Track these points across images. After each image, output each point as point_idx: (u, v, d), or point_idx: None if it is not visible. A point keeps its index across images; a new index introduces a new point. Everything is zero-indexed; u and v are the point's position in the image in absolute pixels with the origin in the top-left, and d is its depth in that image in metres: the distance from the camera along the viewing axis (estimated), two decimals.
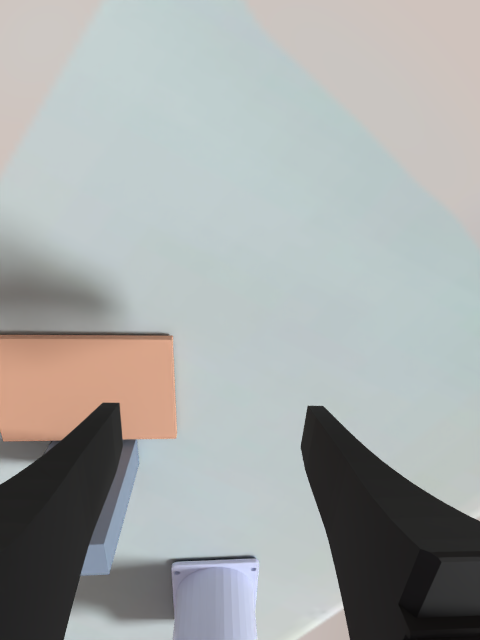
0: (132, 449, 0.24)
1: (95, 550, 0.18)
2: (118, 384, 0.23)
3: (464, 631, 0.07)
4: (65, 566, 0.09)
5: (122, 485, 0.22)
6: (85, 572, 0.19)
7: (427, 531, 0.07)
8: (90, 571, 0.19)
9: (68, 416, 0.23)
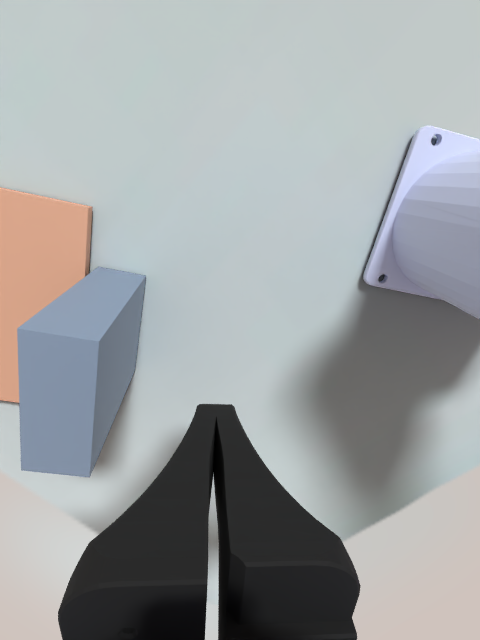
0: (92, 273, 0.17)
1: (33, 344, 0.11)
2: None
3: (291, 638, 0.06)
4: None
5: (70, 291, 0.14)
6: (89, 372, 0.12)
7: (257, 534, 0.07)
8: (87, 366, 0.11)
9: None
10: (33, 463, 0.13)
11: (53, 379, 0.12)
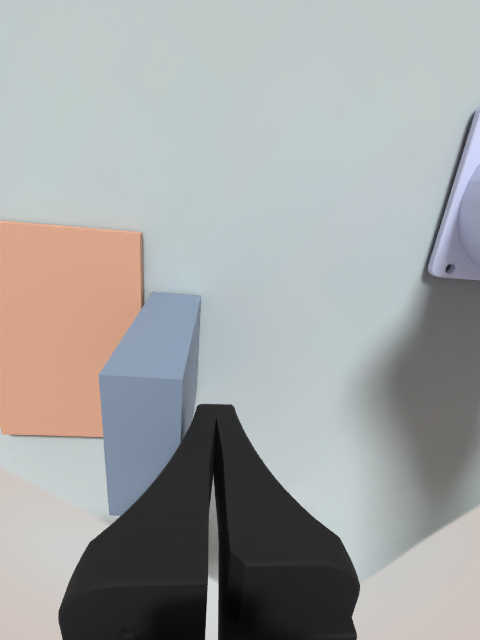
0: (148, 300, 0.17)
1: (115, 389, 0.10)
2: (44, 301, 0.17)
3: (291, 639, 0.06)
4: None
5: (135, 323, 0.14)
6: (173, 411, 0.11)
7: (256, 533, 0.07)
8: (171, 405, 0.11)
9: (102, 367, 0.18)
10: (120, 507, 0.12)
11: (138, 422, 0.11)
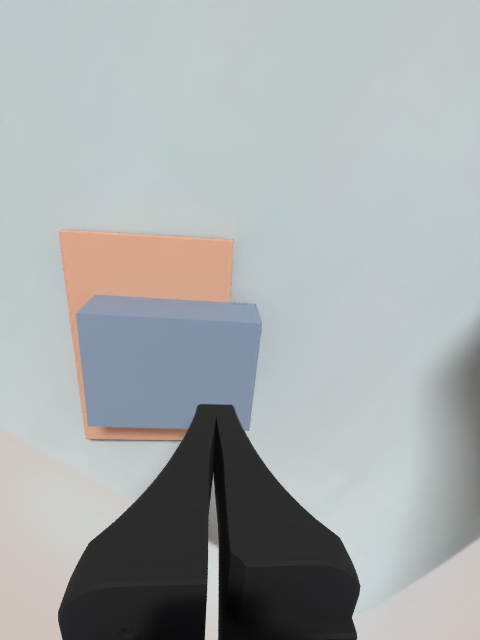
0: (233, 304, 0.17)
1: None
2: None
3: (291, 639, 0.06)
4: None
5: (174, 300, 0.17)
6: (80, 336, 0.15)
7: (256, 533, 0.07)
8: (80, 331, 0.15)
9: None
10: None
11: None
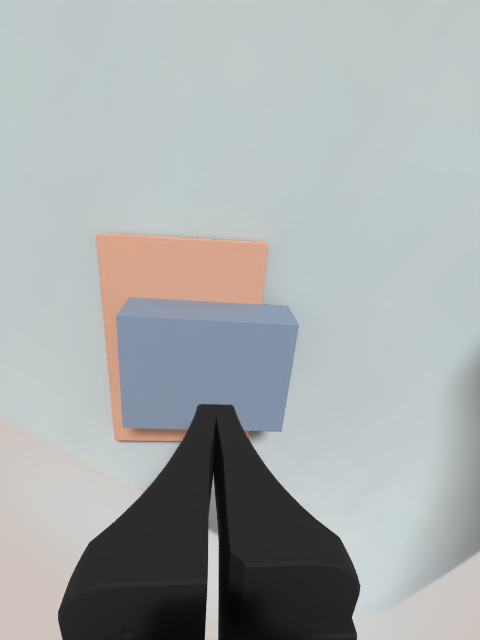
0: (266, 306, 0.18)
1: None
2: None
3: (291, 639, 0.06)
4: None
5: (207, 302, 0.17)
6: (119, 338, 0.15)
7: (256, 534, 0.07)
8: (119, 333, 0.15)
9: None
10: None
11: None
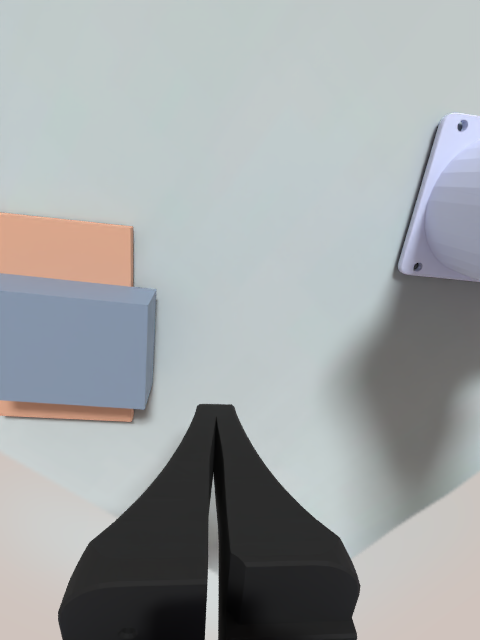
0: (134, 288, 0.18)
1: None
2: None
3: (291, 639, 0.06)
4: None
5: (75, 281, 0.18)
6: None
7: (256, 534, 0.07)
8: None
9: None
10: None
11: None
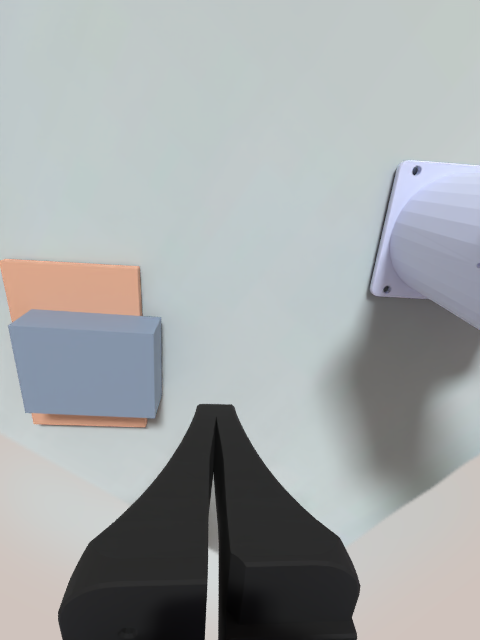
0: (143, 317, 0.22)
1: None
2: None
3: (291, 639, 0.06)
4: None
5: (94, 313, 0.21)
6: (14, 343, 0.20)
7: (257, 533, 0.07)
8: (14, 338, 0.20)
9: None
10: None
11: None
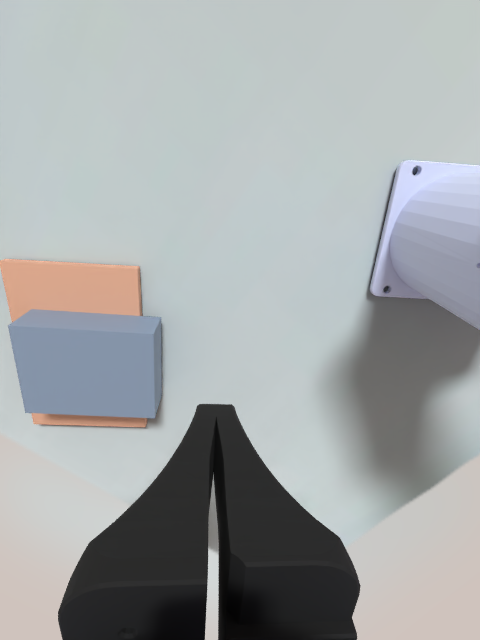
0: (143, 317, 0.22)
1: None
2: None
3: (291, 639, 0.06)
4: None
5: (94, 313, 0.21)
6: (14, 343, 0.20)
7: (257, 533, 0.07)
8: (14, 338, 0.20)
9: None
10: None
11: None
